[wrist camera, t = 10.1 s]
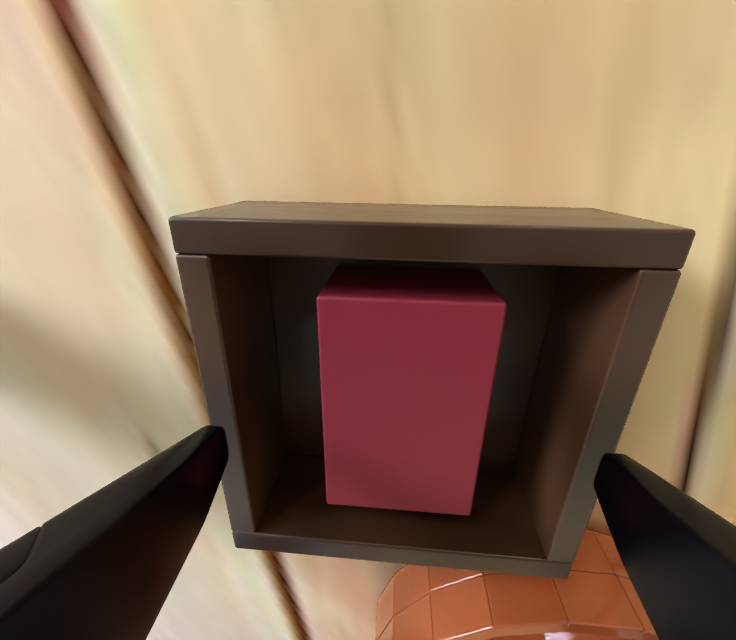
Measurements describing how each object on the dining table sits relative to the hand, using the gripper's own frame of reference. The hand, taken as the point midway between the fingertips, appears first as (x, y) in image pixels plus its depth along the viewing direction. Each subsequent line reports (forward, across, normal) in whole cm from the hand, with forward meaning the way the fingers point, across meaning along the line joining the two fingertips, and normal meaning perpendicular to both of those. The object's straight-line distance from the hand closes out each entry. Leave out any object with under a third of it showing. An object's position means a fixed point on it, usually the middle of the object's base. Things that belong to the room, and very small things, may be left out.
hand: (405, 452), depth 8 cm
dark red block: (+4, 0, 0) cm, 4 cm away
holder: (+5, 0, 0) cm, 5 cm away
